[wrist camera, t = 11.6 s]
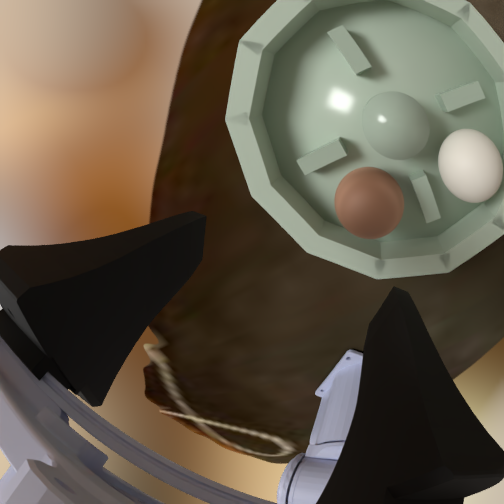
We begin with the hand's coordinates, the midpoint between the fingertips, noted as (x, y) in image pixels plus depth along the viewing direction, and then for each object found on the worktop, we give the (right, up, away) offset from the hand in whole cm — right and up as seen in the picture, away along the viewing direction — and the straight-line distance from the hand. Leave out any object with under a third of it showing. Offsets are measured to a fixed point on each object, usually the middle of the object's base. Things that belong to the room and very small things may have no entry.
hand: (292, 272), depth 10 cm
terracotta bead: (+6, +4, +6) cm, 9 cm away
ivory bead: (+11, +6, +2) cm, 13 cm away
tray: (+7, +8, +4) cm, 12 cm away
